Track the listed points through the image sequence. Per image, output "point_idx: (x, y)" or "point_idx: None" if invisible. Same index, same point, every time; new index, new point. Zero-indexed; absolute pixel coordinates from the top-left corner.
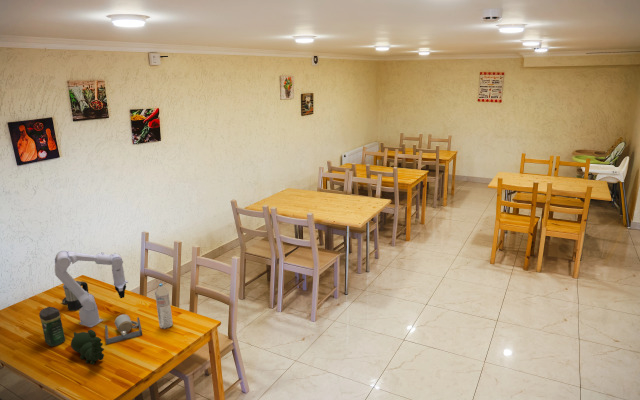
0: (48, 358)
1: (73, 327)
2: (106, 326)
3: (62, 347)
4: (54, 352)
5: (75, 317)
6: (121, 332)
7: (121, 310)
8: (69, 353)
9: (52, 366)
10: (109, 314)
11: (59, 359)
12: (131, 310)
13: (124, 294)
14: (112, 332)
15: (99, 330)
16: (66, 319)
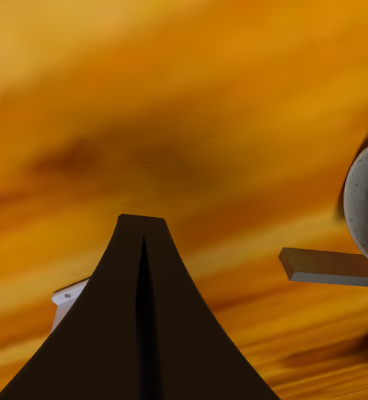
0: (302, 395)
1: None
2: (311, 276)
3: (270, 374)
4: (281, 387)
5: (8, 344)
6: None
7: (53, 120)
8: (336, 361)
9: (361, 387)
10: (77, 211)
11: (342, 378)
12: (112, 31)
13: (178, 255)
14: (348, 233)
15: (257, 278)
16: (12, 368)
